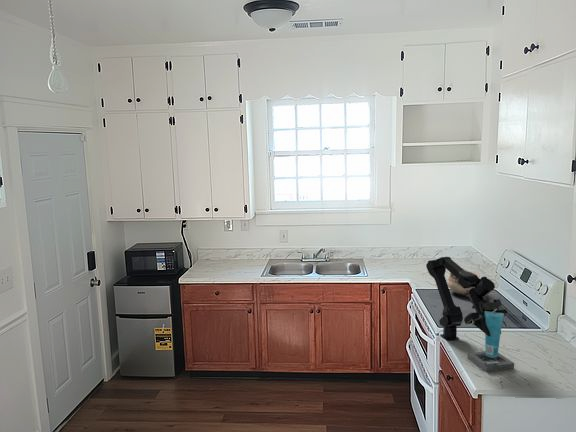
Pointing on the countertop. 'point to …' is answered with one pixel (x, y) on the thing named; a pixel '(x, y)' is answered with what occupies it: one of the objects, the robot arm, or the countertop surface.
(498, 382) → the countertop surface
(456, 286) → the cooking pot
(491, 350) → the tube
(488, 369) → the grey square frame
